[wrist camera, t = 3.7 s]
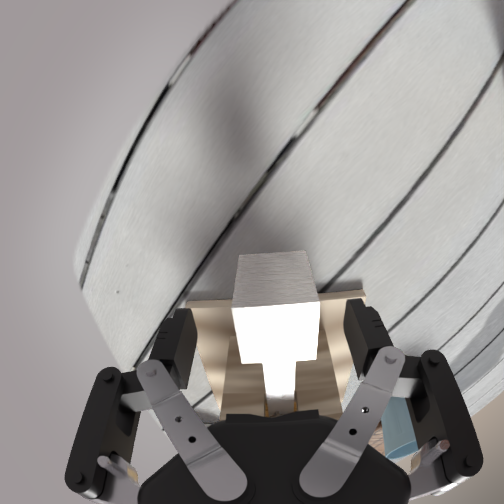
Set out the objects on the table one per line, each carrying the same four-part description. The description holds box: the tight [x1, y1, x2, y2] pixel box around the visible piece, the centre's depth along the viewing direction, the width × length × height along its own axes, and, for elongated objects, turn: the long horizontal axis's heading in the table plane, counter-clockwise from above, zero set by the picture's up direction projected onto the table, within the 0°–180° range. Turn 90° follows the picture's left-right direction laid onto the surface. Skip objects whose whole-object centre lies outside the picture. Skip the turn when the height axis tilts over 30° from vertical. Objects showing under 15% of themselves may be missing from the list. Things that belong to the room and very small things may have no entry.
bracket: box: [185, 289, 366, 421], centre depth 26 cm, size 20×18×14 cm
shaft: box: [231, 250, 320, 418], centre depth 21 cm, size 26×4×5 cm, turn 5°
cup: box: [381, 397, 418, 459], centre depth 33 cm, size 8×8×10 cm
